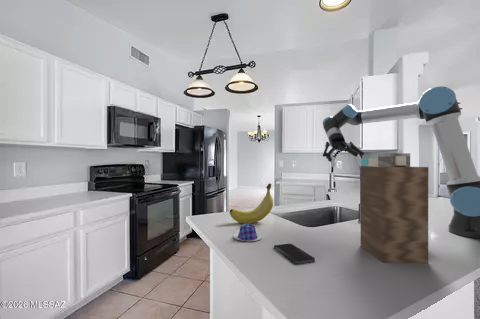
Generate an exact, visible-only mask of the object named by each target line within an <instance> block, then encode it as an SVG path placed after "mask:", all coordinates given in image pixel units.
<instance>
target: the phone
mask: <svg viewBox="0 0 480 319" xmlns="http://www.w3.org/2000/svg"><path fill="white" fill-rule="evenodd" d="M273 250H275V251H276V252H277V253H279V254H280V255H281V256H283V257H284V258H285V259H286V260H288V262H290V263H292V264H293V265H296V266H298V265H304V264H310V263H311V264H312V263H315V261H316V258H315V256H312V255H311V254H309V253H307V252H306V251H304V250H302V249H301V248H299V247H298V246H296V245H295V244H294V243H282V244H274V245H273Z"/></svg>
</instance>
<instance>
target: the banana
mask: <svg viewBox="0 0 480 319" xmlns="http://www.w3.org/2000/svg"><path fill="white" fill-rule="evenodd" d="M265 188H266V194H265V196H264V197H263V199H262V200H261V202H260V203H259V205H258V206H256V207H255V208H253V209H251V210H247V211H246V210H244V211H243V210H238V209H235V208H232V209H230V210H229V215H230V217H231V218H232V220H234V221H235V222H237V223H241V224H255V223H258V222H260V221H262V220H264V218H266V217H267V216H268V215H269V214H270V213H271V211H272V210H273V207H274V199H273V197H272V194H271V189H272V183H267V186H266V187H265Z"/></svg>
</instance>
